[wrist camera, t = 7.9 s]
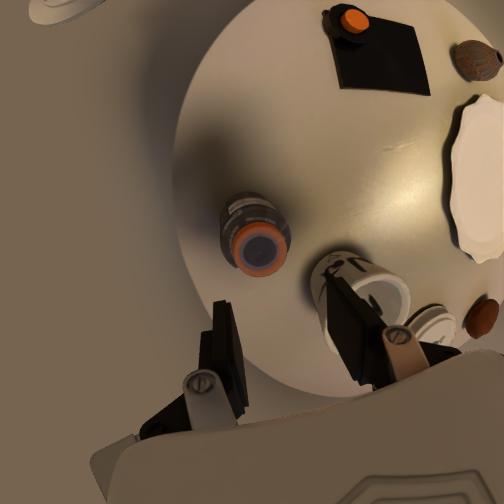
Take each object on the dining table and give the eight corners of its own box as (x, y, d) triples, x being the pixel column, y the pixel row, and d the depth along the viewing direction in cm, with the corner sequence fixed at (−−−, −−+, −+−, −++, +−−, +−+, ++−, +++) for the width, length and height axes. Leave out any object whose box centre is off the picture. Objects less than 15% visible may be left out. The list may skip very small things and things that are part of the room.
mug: (357, 224, 32) (402, 254, 23) (385, 307, 37) (419, 346, 28) (284, 266, 33) (308, 311, 24) (326, 342, 38) (350, 390, 29)
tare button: (337, 12, 20) (342, 7, 19) (359, 15, 20) (365, 11, 19) (343, 32, 21) (348, 27, 20) (365, 35, 21) (371, 31, 20)
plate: (464, 62, 24) (473, 60, 21) (529, 159, 31) (536, 161, 28) (413, 215, 32) (424, 220, 30) (488, 276, 39) (496, 281, 37)
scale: (317, 9, 21) (324, 1, 19) (409, 25, 22) (419, 21, 20) (336, 88, 26) (345, 84, 23) (426, 96, 26) (438, 94, 24)
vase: (478, 71, 24) (514, 68, 16) (466, 89, 26) (506, 87, 17) (456, 38, 22) (492, 29, 14) (443, 54, 23) (482, 45, 15)
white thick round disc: (454, 309, 40) (469, 322, 36) (421, 360, 44) (433, 375, 39) (419, 296, 38) (437, 312, 33) (381, 356, 41) (394, 375, 37)
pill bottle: (254, 251, 32) (270, 302, 21) (210, 226, 30) (203, 267, 20) (283, 208, 30) (315, 240, 20) (238, 180, 29) (247, 197, 18)
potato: (461, 312, 41) (479, 329, 35) (487, 287, 40) (506, 301, 34) (461, 332, 44) (477, 349, 38) (486, 308, 43) (503, 322, 37)
